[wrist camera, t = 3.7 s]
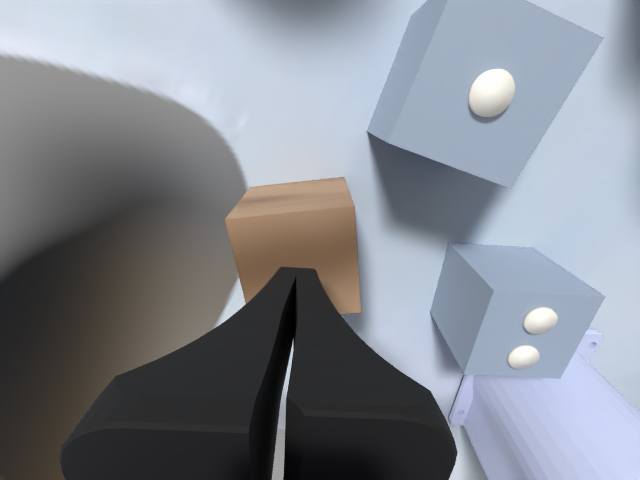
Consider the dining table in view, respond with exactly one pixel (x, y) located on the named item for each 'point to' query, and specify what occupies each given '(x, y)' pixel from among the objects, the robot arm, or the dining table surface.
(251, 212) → the walnut block
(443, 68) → the dotted block
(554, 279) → the dotted block
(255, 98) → the dining table surface
